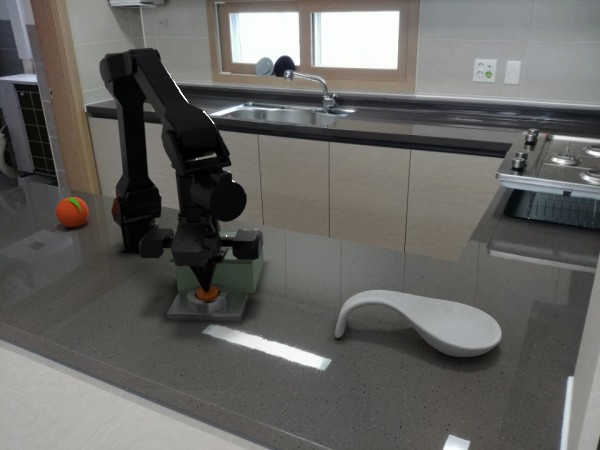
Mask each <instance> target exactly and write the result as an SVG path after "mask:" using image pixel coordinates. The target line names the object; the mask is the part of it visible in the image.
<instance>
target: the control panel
mask: <svg viewBox="0 0 600 450" xmlns="http://www.w3.org/2000/svg"><path fill="white" fill-rule="evenodd" d="M211 285H212V286H215V287H217V288H218V293H219V296H217V297H216V298H214V299H210V300H200V299H197V296H196V290H197V289H198V288H200V287H201V285H198V286H196V287H194V288H193V289H191V290H189V292H187V291H179V292H178V291H177V295H176V296H175V297H174V299H173V301H172V303H171V305H170V307H169V309H168V310H167V312H166V317H167V320H189V321H190V320H192V321H227V322H229V321H230V322H231V321H232V322H241V321H242V319H243V315H244V312H245V309H246V306H247V303H248V300H249V293H234V292H228V291H227V289H226V288H225V287H224V286H222V285H219V284H211Z"/></svg>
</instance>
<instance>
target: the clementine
mask: <svg viewBox="0 0 600 450" xmlns="http://www.w3.org/2000/svg"><path fill="white" fill-rule="evenodd" d="M89 212H90V211H89V207H88V204H87V203H86V201H84V200H83V199H82V198H79V197H77V196H68V197H65V198H63V199H62V200H60V201H59V202H58V203H57V205H56V207H55V216H56V219H57V220H58V222H59V223H60V224H62V225H63V226H65V227H67V228H77V227H79V226H82V225H83V224H84V223H85V222H86V221H87V220H88V218H89V214H90V213H89Z"/></svg>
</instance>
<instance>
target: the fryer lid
mask: <svg viewBox="0 0 600 450" xmlns="http://www.w3.org/2000/svg"><path fill="white" fill-rule="evenodd" d="M236 233H237V231H220V236H227V237H235V235H236ZM169 263H170V264H171V263H174V264H175V262H174V258H173V255H172V254H171V255H170V256H169ZM221 263H242V264H252V263H253V260H238V259H237V258H236V257H234V256H233V253H232V249H229V250H228V252H227V254H226V256H225V258H224V261H223V262H221Z"/></svg>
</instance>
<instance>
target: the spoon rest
mask: <svg viewBox="0 0 600 450" xmlns="http://www.w3.org/2000/svg"><path fill="white" fill-rule="evenodd" d="M367 306H383V307H386V308H389V309H391V310H392V311H394V312H396V313H397V314H399V315H400V316H401V317H402V318H404V320H405V321H406V322H407V323H409V325H410V326H411V327H412V328H413V329H414V330H415V331H416V332H417V333H418V335H419V336H420V337H421V338H422V339H423V340H424V341H425V342H426V344H428V345H429V346H430V347H432V348H433V349H435V350H436V351H438V352H440V353H441V354H444V355H446V356H450V357H455V358H456V357H457V358H472V357H477V356H481V355H484V354H485V353H488V352H489V351H491V350H493V349H494V348H495V347H497V346H498V345H499V344H500V343H501V340H502V337H503V332H502V329H501V325H500V324H499V323H498V322H497V320H496V319H495V318H494V317H492V316H491V315H490V314H488V313H487V312H485V311H483V310H481V309H479V308H477V307H475V306H472V305H468V304H465V303H461V302H457V301H451V300H445V299H438V298H432V297H427V296H422V295H417V294H412V293H406V292H400V291H395V290H385V289H370V290H366V291H361V292H358V293H356V294H354V295H352V296H351V297H349V298H348V299H347V300H346V301H345V302H344V303H343V305H342V306H341V309H340V312H339V315H338V319H337V321H336V326H335V330H334V337H335V338H336V339H339V338H341V337H342V336H343V335H344V332H345V330H346V326H347V321H348V318H349V317H350V315H351V314H352V313H354V311H355V310H358V309H360V308H362V307H367Z"/></svg>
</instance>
